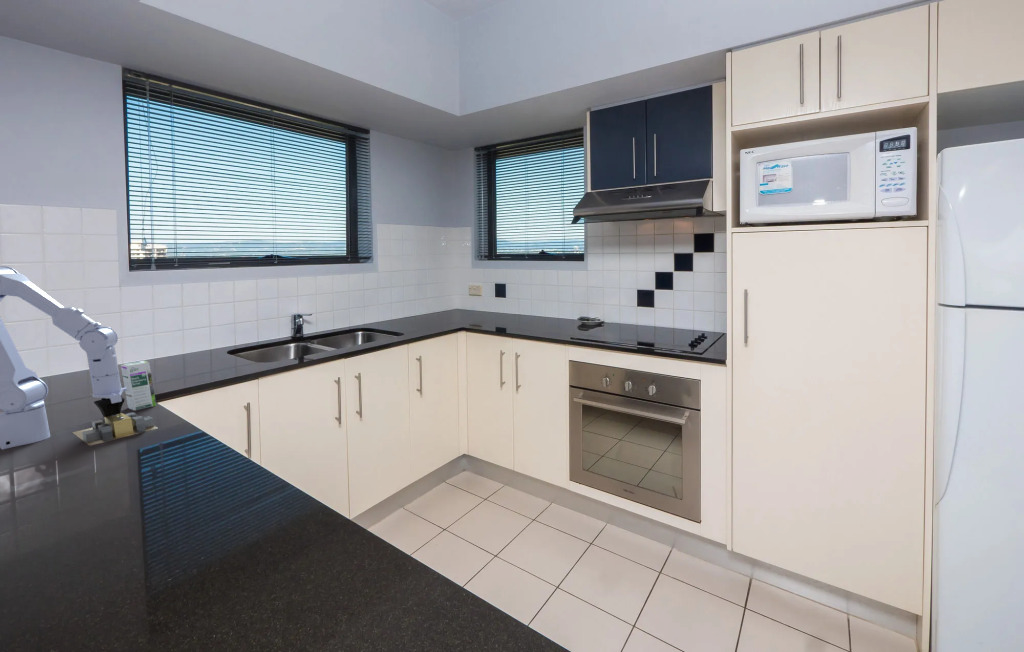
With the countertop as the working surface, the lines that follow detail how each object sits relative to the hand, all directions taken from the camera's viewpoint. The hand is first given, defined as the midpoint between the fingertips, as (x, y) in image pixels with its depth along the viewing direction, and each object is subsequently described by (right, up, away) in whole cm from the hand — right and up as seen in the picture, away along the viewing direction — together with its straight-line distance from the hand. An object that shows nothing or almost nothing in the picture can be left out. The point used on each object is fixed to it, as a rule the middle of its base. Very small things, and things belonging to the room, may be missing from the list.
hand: (113, 425), depth 129 cm
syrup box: (-8, 0, +22) cm, 23 cm away
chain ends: (+4, -1, -3) cm, 6 cm away
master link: (+4, -1, -3) cm, 6 cm away
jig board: (+1, -2, -1) cm, 2 cm away
